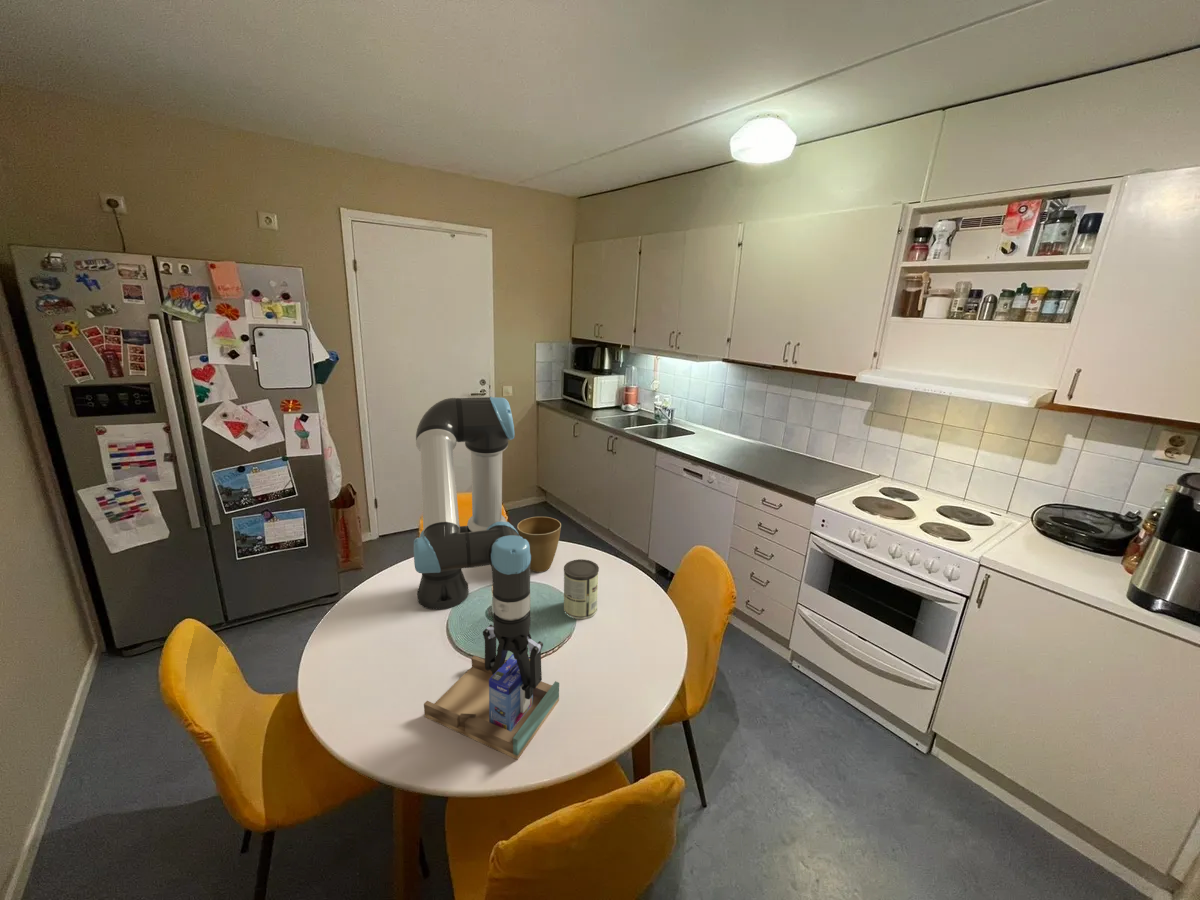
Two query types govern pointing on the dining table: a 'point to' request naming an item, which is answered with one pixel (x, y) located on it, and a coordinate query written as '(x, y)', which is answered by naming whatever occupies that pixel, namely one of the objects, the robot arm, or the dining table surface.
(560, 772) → the dining table surface
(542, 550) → the plant pot
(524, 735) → the channel
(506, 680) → the ink cartridge box
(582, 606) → the coffee can
